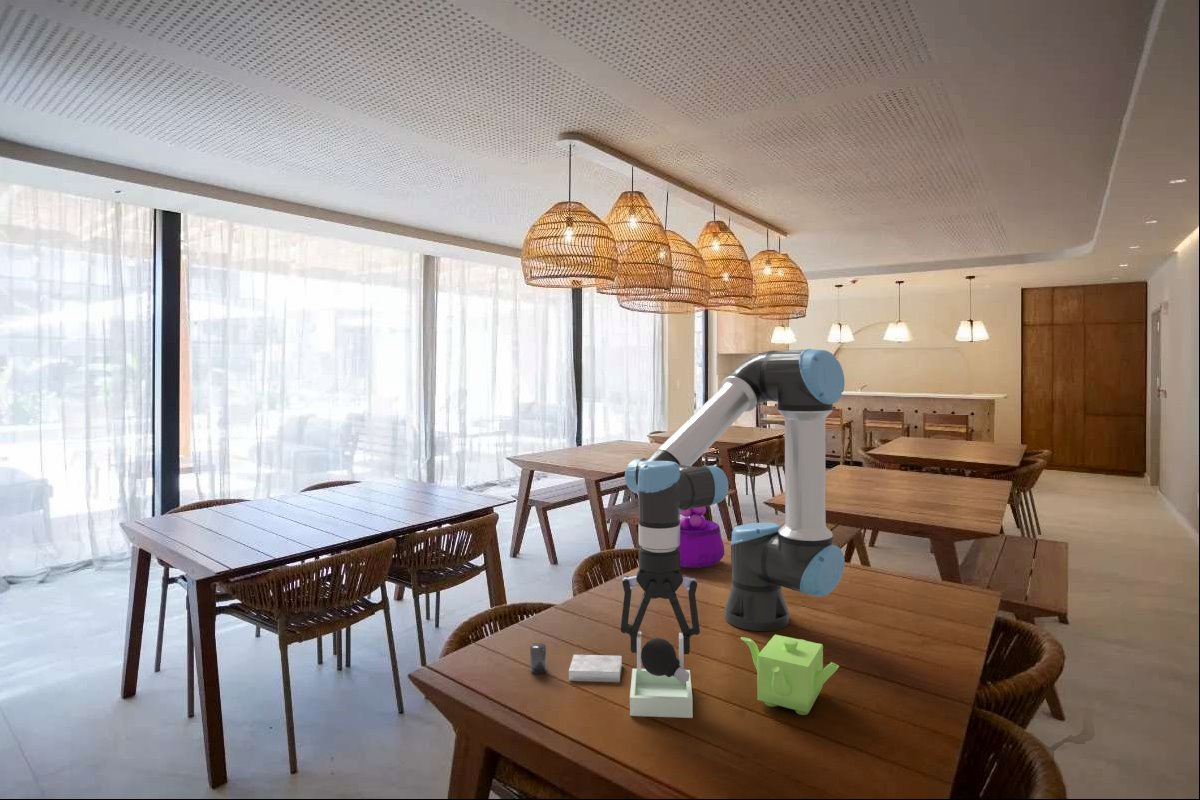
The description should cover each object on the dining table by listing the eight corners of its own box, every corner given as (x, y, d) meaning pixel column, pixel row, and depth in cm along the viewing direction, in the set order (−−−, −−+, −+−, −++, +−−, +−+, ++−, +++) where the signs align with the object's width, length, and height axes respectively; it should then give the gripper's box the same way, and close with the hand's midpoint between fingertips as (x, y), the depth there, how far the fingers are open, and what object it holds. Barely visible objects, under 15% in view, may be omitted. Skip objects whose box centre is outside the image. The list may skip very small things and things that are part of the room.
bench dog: (547, 666, 133) (547, 643, 133) (544, 674, 130) (544, 649, 130) (532, 666, 134) (531, 642, 133) (529, 673, 131) (528, 649, 130)
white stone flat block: (621, 667, 134) (621, 655, 133) (619, 684, 127) (619, 671, 126) (573, 666, 134) (573, 654, 134) (569, 682, 128) (568, 670, 127)
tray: (689, 686, 124) (689, 670, 124) (692, 717, 113) (692, 699, 113) (632, 685, 125) (632, 668, 125) (630, 715, 114) (629, 697, 114)
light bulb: (688, 668, 111) (643, 633, 116) (673, 700, 111) (629, 664, 117) (704, 661, 116) (660, 628, 122) (689, 692, 117) (646, 658, 122)
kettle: (773, 728, 110) (773, 664, 109) (735, 688, 123) (734, 631, 123) (850, 714, 113) (850, 652, 113) (804, 677, 127) (804, 621, 127)
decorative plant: (660, 573, 192) (659, 473, 190) (664, 555, 210) (663, 463, 208) (725, 575, 189) (724, 474, 187) (723, 557, 207) (723, 464, 205)
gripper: (712, 541, 120) (713, 662, 122) (606, 540, 122) (608, 659, 123) (716, 553, 113) (716, 681, 114) (603, 551, 115) (604, 677, 116)
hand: (660, 669), depth 119 cm, fingers closed on light bulb, 7 cm apart
